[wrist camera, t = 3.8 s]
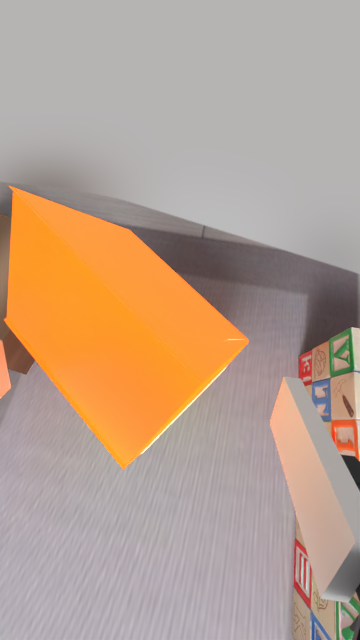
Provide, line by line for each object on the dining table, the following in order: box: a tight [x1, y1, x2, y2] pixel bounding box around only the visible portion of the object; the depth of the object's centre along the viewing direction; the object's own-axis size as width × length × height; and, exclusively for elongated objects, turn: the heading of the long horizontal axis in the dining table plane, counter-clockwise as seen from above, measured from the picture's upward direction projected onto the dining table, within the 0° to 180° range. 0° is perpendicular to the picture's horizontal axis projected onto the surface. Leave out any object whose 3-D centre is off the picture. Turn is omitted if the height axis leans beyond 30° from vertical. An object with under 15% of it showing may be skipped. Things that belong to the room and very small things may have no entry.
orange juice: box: [4, 185, 249, 469], centre depth 17 cm, size 8×9×20 cm
